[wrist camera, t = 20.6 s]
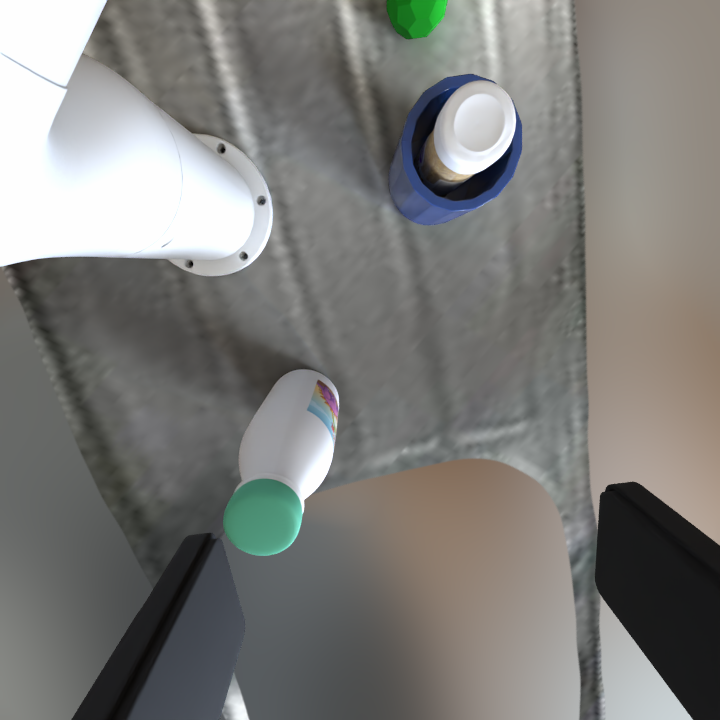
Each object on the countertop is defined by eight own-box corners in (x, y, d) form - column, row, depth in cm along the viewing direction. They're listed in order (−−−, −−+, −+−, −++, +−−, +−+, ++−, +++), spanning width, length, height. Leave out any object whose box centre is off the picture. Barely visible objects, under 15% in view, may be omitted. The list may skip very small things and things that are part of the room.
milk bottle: (268, 425, 41) (190, 571, 21) (275, 362, 39) (196, 460, 19) (333, 435, 41) (316, 586, 22) (344, 373, 39) (335, 480, 20)
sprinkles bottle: (406, 152, 33) (440, 78, 20) (455, 150, 33) (521, 74, 20) (407, 205, 34) (440, 168, 21) (454, 202, 34) (516, 164, 21)
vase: (393, 230, 35) (407, 218, 26) (383, 136, 33) (396, 84, 23) (476, 219, 35) (522, 202, 25) (472, 124, 33) (522, 65, 23)
